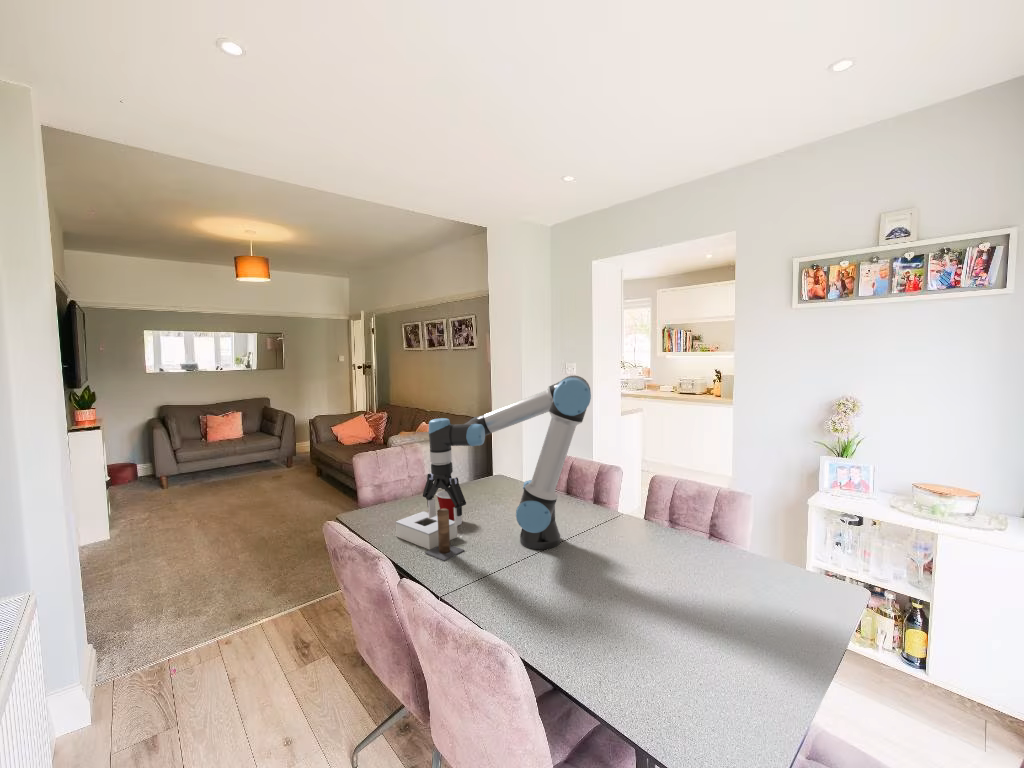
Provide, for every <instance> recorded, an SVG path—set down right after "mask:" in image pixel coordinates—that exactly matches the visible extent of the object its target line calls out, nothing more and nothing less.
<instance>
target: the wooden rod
mask: <svg viewBox="0 0 1024 768" xmlns="http://www.w3.org/2000/svg"><path fill="white" fill-rule="evenodd" d="M436 515H437V516H438V540H439V553H442V554H445V553H448V552H450V545H451V540H450V533H449V510H448V509H440V508H439V509H437V511H436Z"/></svg>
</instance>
